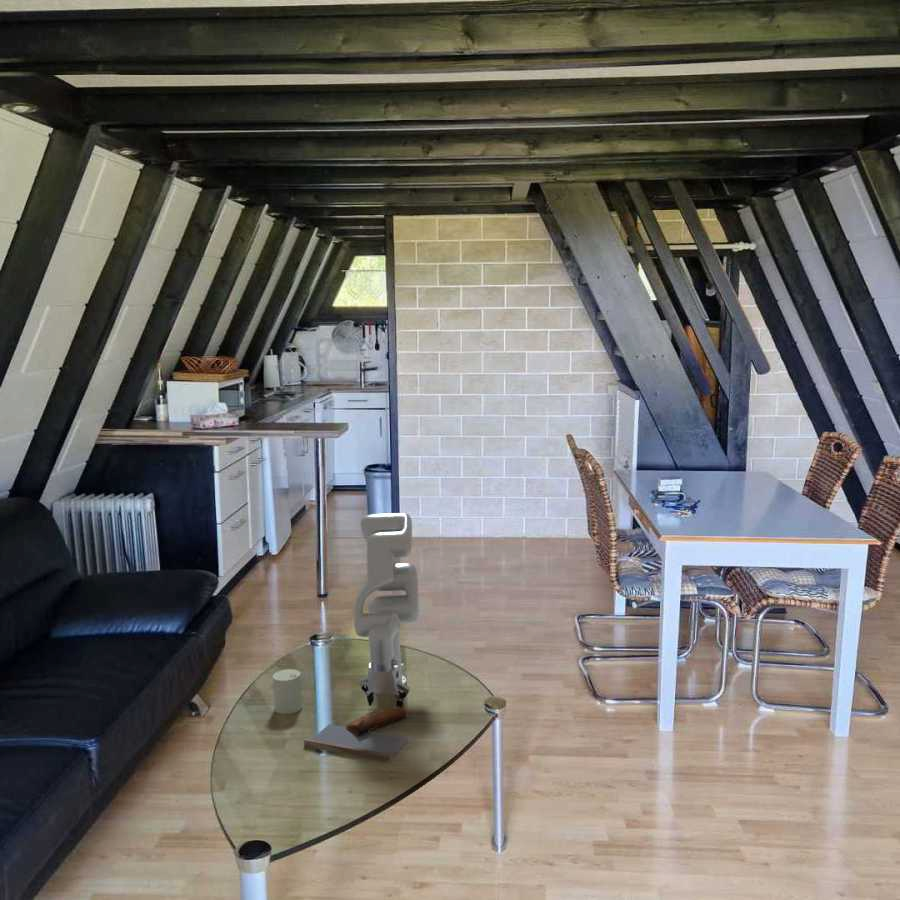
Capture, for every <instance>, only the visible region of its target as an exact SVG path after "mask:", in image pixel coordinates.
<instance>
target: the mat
mask: <svg viewBox="0 0 900 900" xmlns="http://www.w3.org/2000/svg"><path fill="white" fill-rule="evenodd" d="M312 739H313V740H318V741H324V742H329V743H334V744H340V745H345V746H350V747H356V748H361V749H366V750H372V751H377V752H382V753H388V754H389V756H390V760H392V758H393V757H394V756H395V755H397V753H398V752H399V751H400V750H401V748H403V746H404V745H405V744H407V742H408V741H409V740H410V738H408V737H405V736H404V737H403V736H398V735H393V734H385V733H380V732H376V731H371V730H369V731H367V732H364V733H362V734H359V735H358V736H357V735H355V734H354V733H352V732H351V731H350V730H349V729H347V727H346V726H341V725H337V724H336V725H334V724H331V723H330V724H328V725H326V726H325V727H324V728H323V729H322V730H320V732H318V733H317V734H316V735H315V736H313V737H312Z"/></svg>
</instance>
